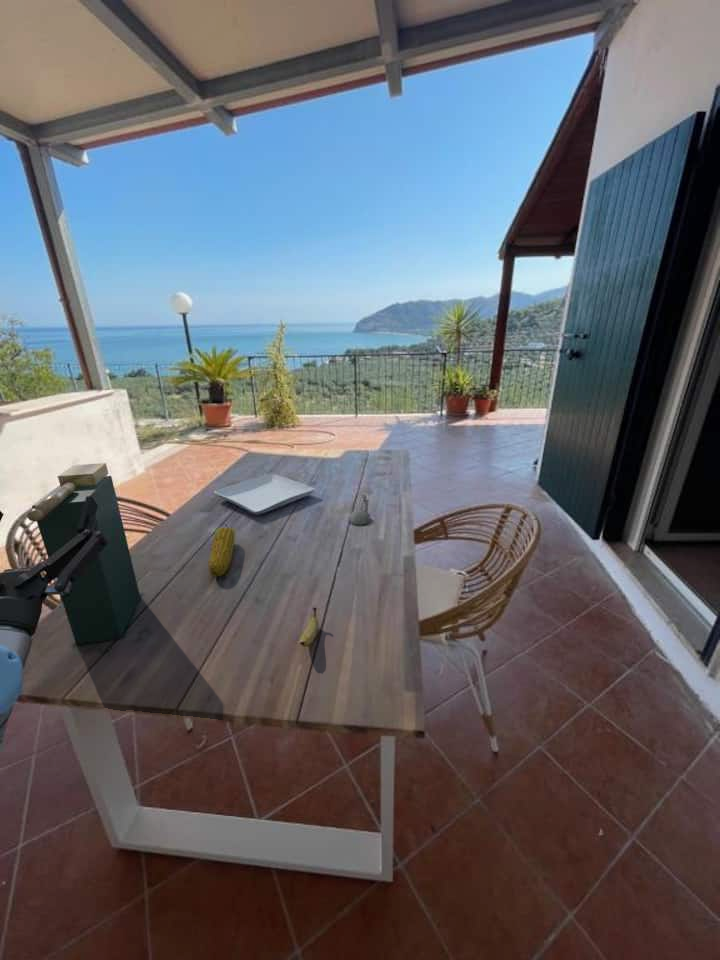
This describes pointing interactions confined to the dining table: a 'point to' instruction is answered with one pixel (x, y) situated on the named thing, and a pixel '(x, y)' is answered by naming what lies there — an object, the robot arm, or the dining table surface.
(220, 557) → the food
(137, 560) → the dining table surface
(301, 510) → the dining table surface
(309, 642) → the banana
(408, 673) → the dining table surface
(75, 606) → the stand
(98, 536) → the robot arm
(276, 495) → the square plate
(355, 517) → the soupspoon
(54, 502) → the wooden mallet
